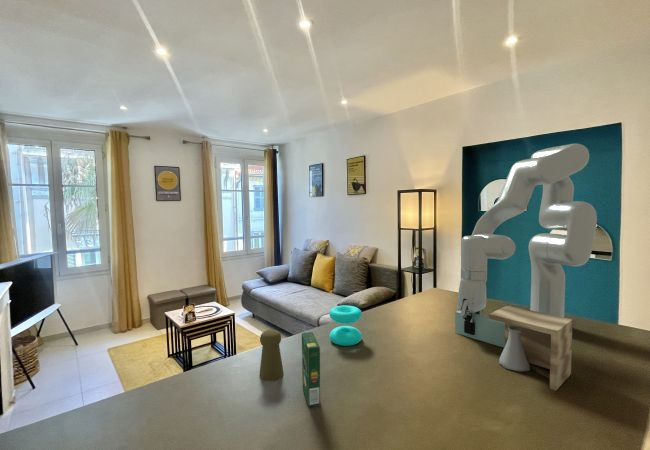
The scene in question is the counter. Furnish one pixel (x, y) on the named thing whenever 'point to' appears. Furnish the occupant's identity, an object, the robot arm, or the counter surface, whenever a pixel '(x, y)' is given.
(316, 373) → the coffee box
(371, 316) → the counter surface
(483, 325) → the block
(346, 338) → the donuts
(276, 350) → the olive pawn
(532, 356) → the wooden corner bracket
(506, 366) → the flask
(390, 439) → the counter surface
